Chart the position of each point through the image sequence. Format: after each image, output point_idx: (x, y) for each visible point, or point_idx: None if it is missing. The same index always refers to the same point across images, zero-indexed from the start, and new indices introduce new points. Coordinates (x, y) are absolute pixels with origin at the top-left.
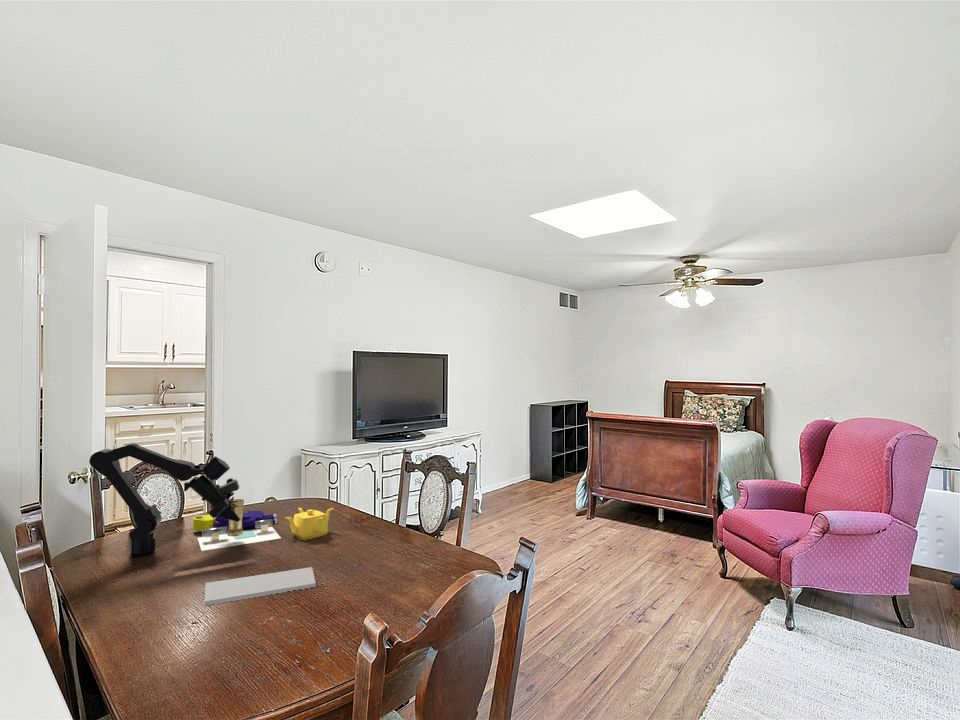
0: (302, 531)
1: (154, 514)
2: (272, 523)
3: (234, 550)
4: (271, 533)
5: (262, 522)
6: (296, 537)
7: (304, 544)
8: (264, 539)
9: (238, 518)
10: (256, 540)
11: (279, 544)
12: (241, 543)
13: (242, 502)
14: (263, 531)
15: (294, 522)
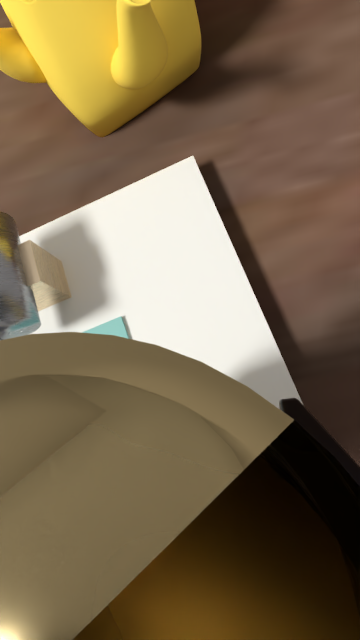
0: (194, 10)
1: None
2: (11, 217)
3: (337, 412)
4: (87, 234)
5: (8, 273)
6: (148, 105)
7: (271, 38)
8: (202, 245)
9: (311, 420)
10: (214, 291)
11: (250, 163)
12: (266, 379)
13: (202, 364)
14: (62, 281)
15: (85, 46)
